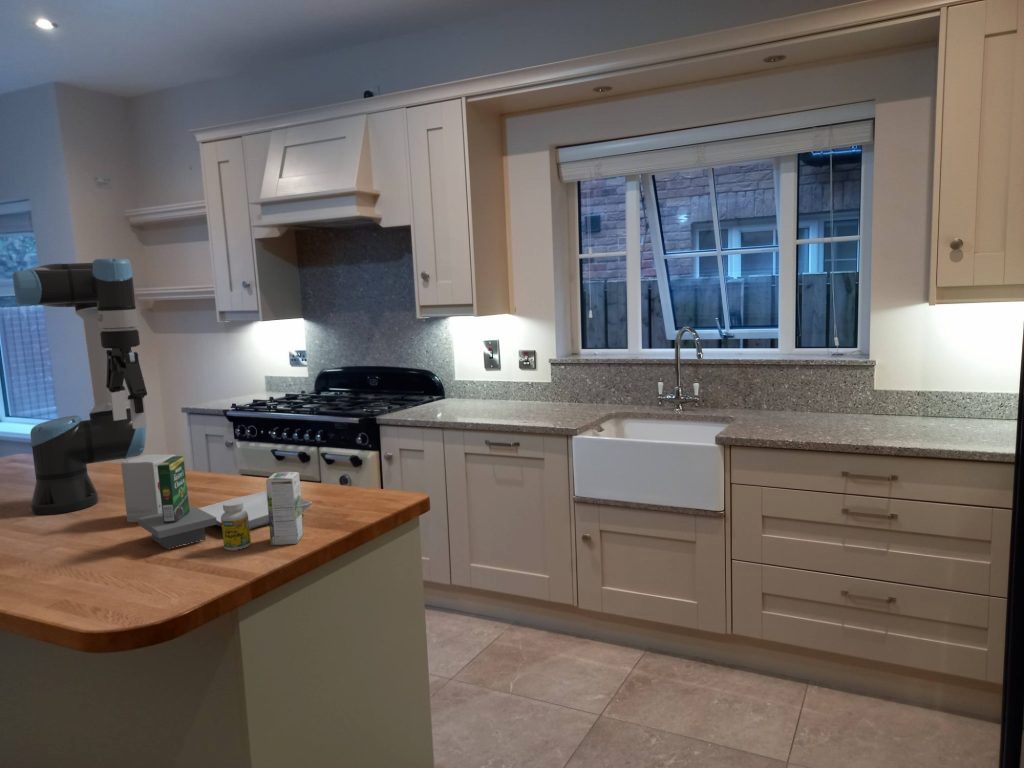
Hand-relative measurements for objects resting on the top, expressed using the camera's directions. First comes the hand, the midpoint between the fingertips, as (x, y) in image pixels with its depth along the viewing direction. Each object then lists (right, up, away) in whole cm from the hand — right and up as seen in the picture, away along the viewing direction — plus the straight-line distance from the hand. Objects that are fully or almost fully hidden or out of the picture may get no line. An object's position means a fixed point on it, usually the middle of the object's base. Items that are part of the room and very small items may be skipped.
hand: (129, 423), depth 165 cm
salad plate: (+24, -24, +11) cm, 35 cm away
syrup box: (+38, -25, -7) cm, 46 cm away
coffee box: (+12, -21, -4) cm, 24 cm away
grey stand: (+13, -26, -3) cm, 29 cm away
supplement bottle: (+28, -26, -9) cm, 39 cm away
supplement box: (-1, -24, +15) cm, 28 cm away
